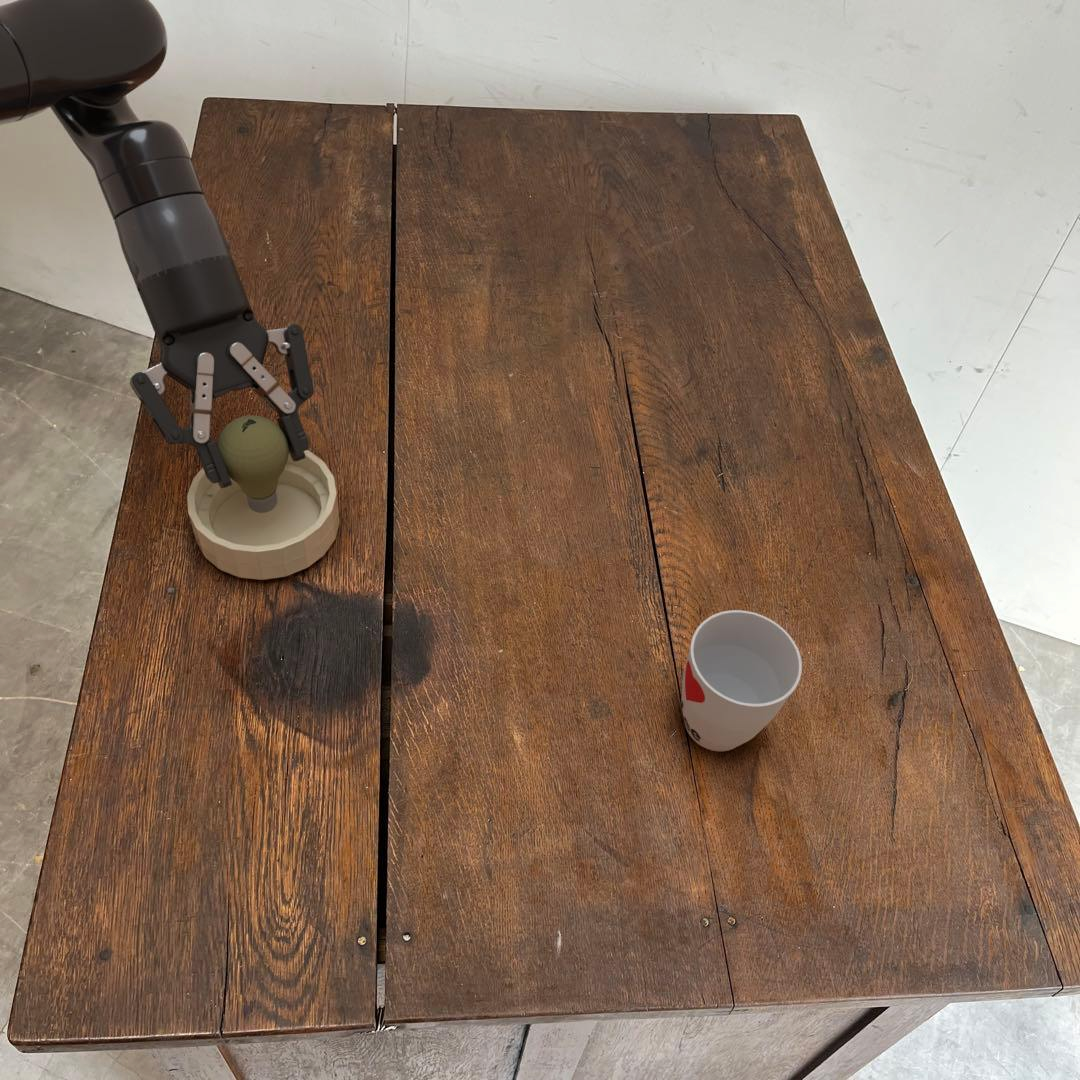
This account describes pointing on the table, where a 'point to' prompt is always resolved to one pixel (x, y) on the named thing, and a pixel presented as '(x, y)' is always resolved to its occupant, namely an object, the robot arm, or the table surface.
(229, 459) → the light bulb
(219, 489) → the bowl
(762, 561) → the table surface
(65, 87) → the robot arm
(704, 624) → the cup
